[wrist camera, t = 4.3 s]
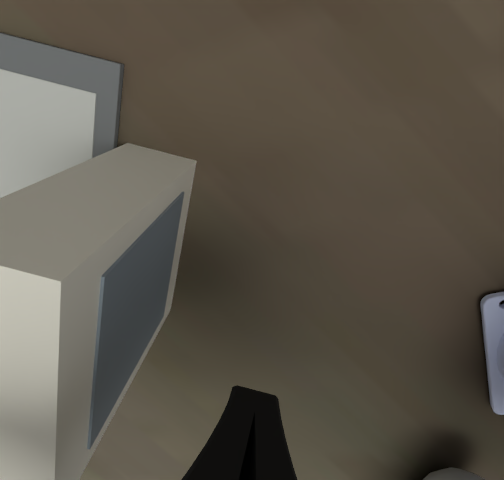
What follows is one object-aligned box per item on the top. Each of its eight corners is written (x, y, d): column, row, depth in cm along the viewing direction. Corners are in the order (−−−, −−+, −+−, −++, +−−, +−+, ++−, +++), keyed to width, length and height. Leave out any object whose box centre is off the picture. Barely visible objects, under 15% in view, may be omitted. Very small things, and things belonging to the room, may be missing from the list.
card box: (198, 161, 19) (65, 282, 8) (172, 310, 23) (56, 528, 12) (127, 142, 19) (-97, 240, 8) (112, 294, 23) (-57, 498, 12)
